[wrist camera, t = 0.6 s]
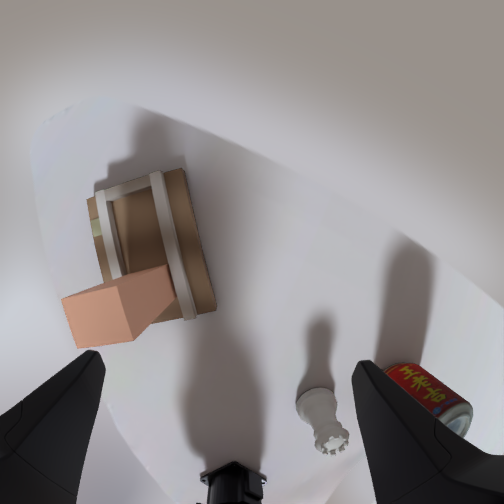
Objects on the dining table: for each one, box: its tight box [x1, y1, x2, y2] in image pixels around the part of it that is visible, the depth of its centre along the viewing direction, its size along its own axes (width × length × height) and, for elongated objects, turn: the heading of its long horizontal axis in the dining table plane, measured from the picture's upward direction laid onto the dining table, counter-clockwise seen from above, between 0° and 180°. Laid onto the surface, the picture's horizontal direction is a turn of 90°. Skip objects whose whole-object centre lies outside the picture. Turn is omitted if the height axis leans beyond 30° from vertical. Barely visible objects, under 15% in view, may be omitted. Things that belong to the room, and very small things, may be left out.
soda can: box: [383, 363, 473, 438], centre depth 21 cm, size 7×7×12 cm
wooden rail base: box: [87, 168, 217, 324], centre depth 24 cm, size 13×10×3 cm
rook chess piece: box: [296, 388, 349, 456], centre depth 23 cm, size 4×4×8 cm
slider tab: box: [61, 264, 177, 349], centre depth 19 cm, size 3×4×11 cm
